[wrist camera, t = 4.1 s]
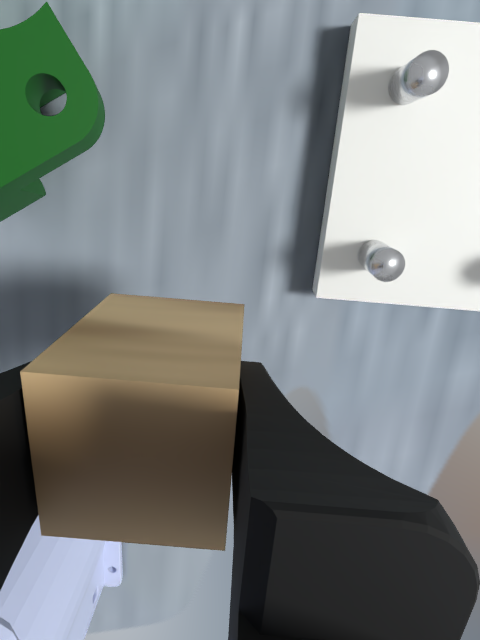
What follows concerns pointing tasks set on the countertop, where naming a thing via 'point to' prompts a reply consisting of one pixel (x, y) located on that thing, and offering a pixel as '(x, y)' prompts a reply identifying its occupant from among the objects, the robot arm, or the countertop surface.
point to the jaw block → (137, 422)
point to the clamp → (32, 93)
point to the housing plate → (405, 167)
